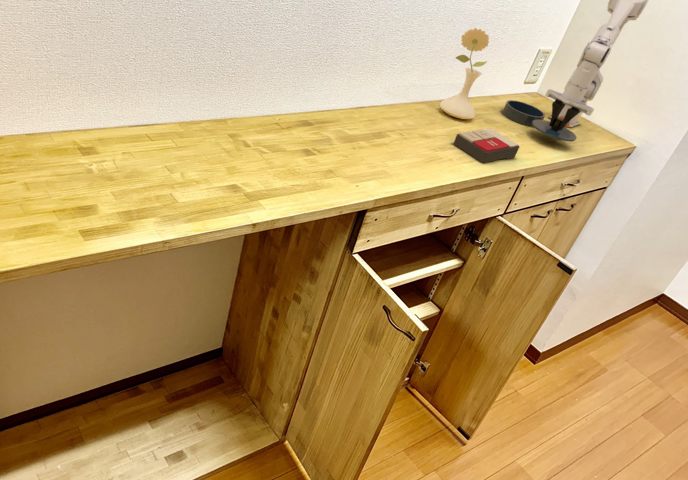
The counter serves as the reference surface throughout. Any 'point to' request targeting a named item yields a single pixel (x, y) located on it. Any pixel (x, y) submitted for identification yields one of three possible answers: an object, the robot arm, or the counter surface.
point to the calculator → (486, 145)
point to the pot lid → (554, 130)
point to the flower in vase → (460, 102)
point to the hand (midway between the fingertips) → (555, 127)
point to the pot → (522, 112)
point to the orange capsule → (567, 123)
